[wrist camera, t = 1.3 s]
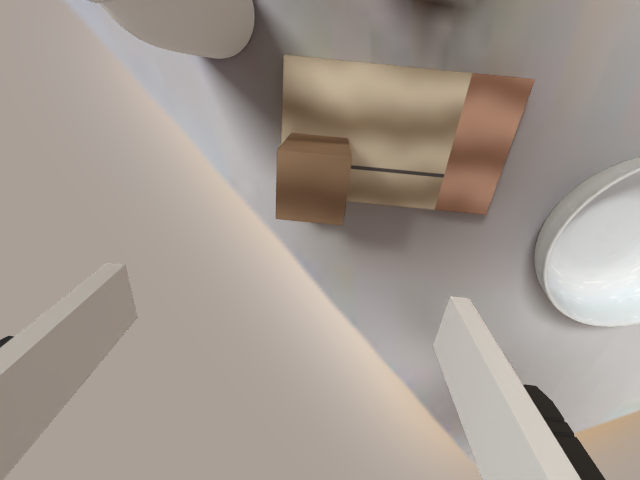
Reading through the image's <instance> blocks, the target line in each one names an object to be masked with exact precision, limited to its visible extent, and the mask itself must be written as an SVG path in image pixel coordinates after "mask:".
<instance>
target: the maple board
mask: <svg viewBox="0 0 640 480" xmlns="http://www.w3.org/2000/svg"><path fill="white" fill-rule="evenodd" d="M534 81H535V79H527V78H517V77H507V76H497V75H487V74H476V73H466V72H456V71H446V70H435V69H425V68H415V67H405V66H395V65H384V64H374V63H364V62H354V61H344V60H333V59H323V58H313V57H303V56H293V55H284V64H283V99H282V135H281V145H282V143H283V142H284V141H285V140H286V138H287V137H288V136H289V135H290V133H300V134H311V135H321V136H331V137H342V138H348V141H349V145H350V150H351V154H352V163H351V171H350V178H349V186H348V193H347V201H349V202H359V203H369V204H380V205H390V206H401V207H411V208H421V209H432V210H442V211H453V212H463V213H474V214H484V215H486V213H487V211H488V208H489V205H490V202H491V200H492V197H493V194H494V191H495V189H496V186H497V183H498V180H499V177H500V175H501V172H502V169H503V166H504V164H505V161H506V158H507V155H508V153H509V150H510V147H511V144H512V141H513V139H514V136H515V133H516V130H517V128H518V125H519V122H520V119H521V117H522V114H523V111H524V108H525V105H526V103H527V100H528V97H529V94H530V92H531V89H532V86H533V83H534Z"/></svg>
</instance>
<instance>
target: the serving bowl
mask: <svg viewBox="0 0 640 480" xmlns="http://www.w3.org/2000/svg"><path fill="white" fill-rule="evenodd" d="M535 270H536V274H537V277H538V280H539V283H540V285H541V287H542V289H543V291H544V293H545V294H546V296H547V297H548V299H549V300H550V302H551V303H552V304H553V305H554V306H555V308H556V309H558V310H559V311H560V312H561V313H562V314H564V315H565V316H567V317H568V318H570V319H572V320H575V321H577V322H580V323H583V324H587V325H592V326H599V327H621V326H630V325H637V324H640V157H638V158H634V159H630V160H627V161H624V162H621V163H619V164H616V165H614V166H611V167H609V168H607V169H605V170H603V171H601V172H599V173H597V174H595V175H593V176H592V177H590V178H588V179H587V180H585V181H584V182H582V183H581V184H580V185H578V186H577V187H575V188H574V189H573V190H572V191H571V192H570V193H568V194H567V195H566V196H565V197H564V198H563V199H562V200H561V201H560V202H559V203H558V204H557V206H556V207H555V208H554V209H553V211H552V212H551V213H550V215H549V216H548V218H547V219H546V221H545V223H544V225H543V227H542V229H541V231H540V233H539V236H538V239H537V243H536V247H535Z"/></svg>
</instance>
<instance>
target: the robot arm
mask: <svg viewBox="0 0 640 480" xmlns="http://www.w3.org/2000/svg"><path fill="white" fill-rule="evenodd" d="M137 318H138V317H137V313H136V308H135V304H134V300H133V295H132V291H131V287H130V283H129V278H128V274H127V270H126V266H125V265H124V264H114V263H105V264H104V265H103V266H102V267H100V268H99V269H98V270H97V271H95V272H94V273H93V274H92V275H90V276H89V277H88V278H87V279H85V280H84V281H83V282H82V283H80V284H79V285H78V286H77V287H75V288H74V289H73V290H72V291H70V293H68V294H67V295H65V296H64V297H63V298H62V299H60V300H59V301H58V302H57V303H55V304H54V305H53V306H52V307H50V308H49V309H48V310H47V311H46V312H44V313H43V314H42V315H41V316H39V317H38V318H37V319H36V320H34V321H33V322H32V323H31V324H29V325H28V326H27V327H26V328H24V329H23V330H22V331H21V332H19V333H18V334H17V335H16V336H7V337H5V338H3V339H1V340H0V480H4V478H5V477H6V476H7V475H8V474H9V472H10V471H11V470H12V469H13V468H14V466H15V465H16V464H17V463H18V461H19V460H20V459H21V458H22V457H23V455H24V454H25V453H26V452H27V451H28V449H29V448H30V447H31V446H32V445H33V443H34V442H35V441H36V440H37V439H38V437H39V436H40V435H41V434H42V433H43V431H44V430H45V429H46V428H47V427H48V425H49V424H50V423H51V422H52V420H53V419H54V418H55V417H56V415H57V414H58V413H59V412H60V411H61V410H62V408H63V407H64V406H65V405H66V404H67V402H68V401H69V400H70V398H72V396H73V395H74V394H75V393H76V391H77V390H78V389H79V388H80V387H81V385H82V384H83V383H84V382H85V381H86V379H87V378H88V377H89V376H90V375H91V373H92V372H93V371H94V370H95V368H96V367H97V366H98V365H99V364H100V362H101V361H102V360H103V359H104V358H105V356H106V355H107V354H108V353H109V351H110V350H111V349H112V348H113V347H114V345H115V344H116V343H117V342H118V341H119V339H120V338H121V337H122V336H123V335H124V333H125V332H126V331H127V330H128V329H129V327H130V326H131V325H132V324H133V323H134V321H135V320H136V319H137ZM433 348H434V351H435V354H436V356H437V359H438V362H439V364H440V367H441V370H442V372H443V375H444V378H445V381H446V383H447V386H448V389H449V391H450V394H451V397H452V399H453V402H454V405H455V408H456V410H457V413H458V416H459V418H460V421H461V424H462V426H463V429H464V432H465V435H466V437H467V440H468V443H469V445H470V448H471V451H472V454H473V456H474V459H475V462H476V464H477V467H478V470H479V472H480V475H481V478H482V480H605V479H604V477H603V475H602V474H601V473H600V471H599V469H598V468H597V467H596V465H595V464H594V462H593V461H592V459H591V458H590V456H589V455H588V453H587V452H586V450H585V449H584V447H583V446H582V444H581V443H580V442H579V440H578V439H577V438H576V437H574V433H573V431H572V430H571V428H570V427H569V425H568V424H567V422H564V418H563V416H562V415H561V413H560V412H559V410H558V409H557V408H556V406H555V405H554V403H553V402H552V401H551V400H550V399H549V398H548V397H547V396H546V395H545V394H544V393H543V392H542V391H541V390H540V389H539V388H538V387H536V386H532V385H522V383H521V381H520V380H519V378H518V377H517V375H516V373H515V372H514V370H513V369H512V367H511V365H510V364H509V362H508V360H507V359H506V357H505V356H504V354H503V352H502V351H501V349H500V347H499V346H498V344H497V343H496V341H495V339H494V338H493V336H492V335H491V333H490V331H489V330H488V328H487V326H486V325H485V323H484V322H483V320H482V318H481V317H480V315H479V313H478V312H477V310H476V309H475V307H474V305H473V304H472V302H471V300H470V299H469V298H461V297H451V296H450V299H449V301H448V304H447V307H446V310H445V313H444V316H443V319H442V321H441V324H440V327H439V330H438V333H437V336H436V338H435V341H434V344H433Z"/></svg>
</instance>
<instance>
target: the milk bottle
mask: <svg viewBox="0 0 640 480" xmlns="http://www.w3.org/2000/svg"><path fill="white" fill-rule="evenodd" d="M89 1H91V2H95V3H100V4H101V5H102V6H103V8H104V9H105V10H106V11H107V12H108V14H109V15H110V16H111V17H112V18H113V19H114V20H115V21H116V22H117V23H118V24H119V25H120V26H122V27H123V28H124V29H125V30H127V31H128V32H129V33H131V34H132V35H134V36H135V37H137V38H139V39H140V40H143V41H145V42H147V43H149V44H151V45H154V46H156V47H160V48H163V49H167V50H171V51H175V52H180V53H186V54H191V55H197V56H202V57H208V58H216V59H224V58H229V57H232V56H234V55H236V54H238V53H239V52H240V51H242V50H243V49H244V47H245V46H246V45H247V43H248V42H249V40H250V38H251V35H252V32H253V28H254V21H255V14H254V6H253V1H252V0H89Z"/></svg>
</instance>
